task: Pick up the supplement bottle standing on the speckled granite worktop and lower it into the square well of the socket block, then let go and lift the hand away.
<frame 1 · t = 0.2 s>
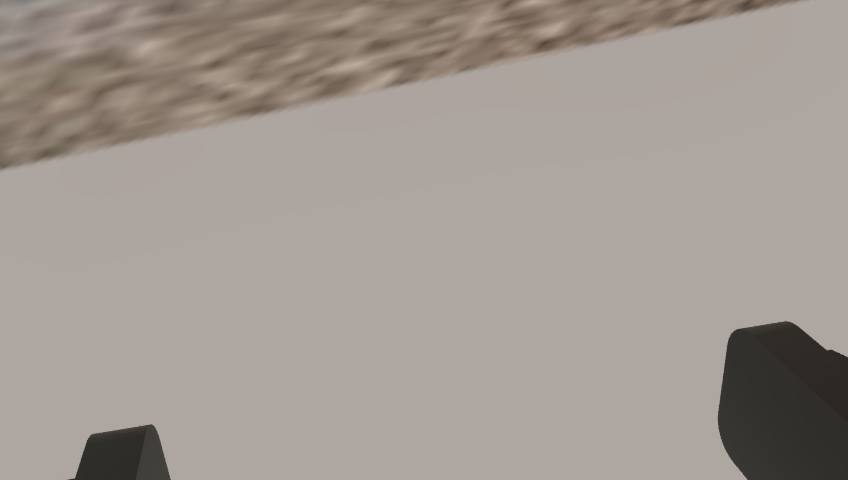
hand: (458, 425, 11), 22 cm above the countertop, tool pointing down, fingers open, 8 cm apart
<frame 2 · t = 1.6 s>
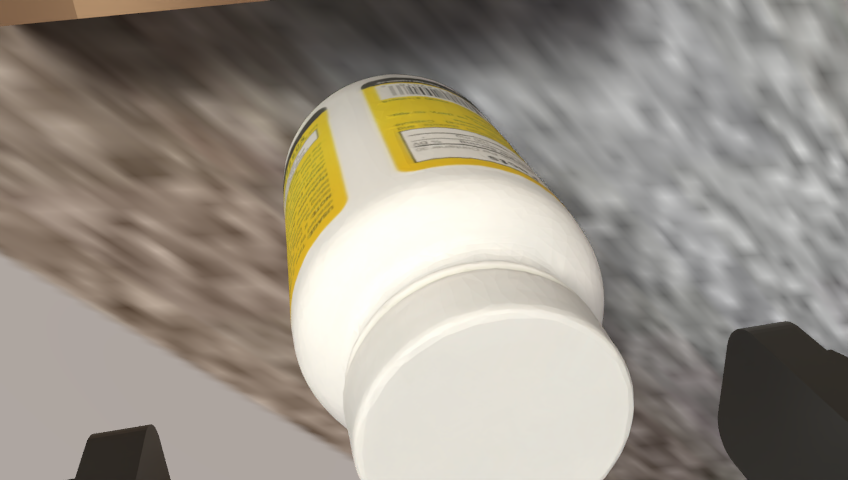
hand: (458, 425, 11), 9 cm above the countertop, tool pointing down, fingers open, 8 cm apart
supplement bottle: (392, 175, 19), on the countertop
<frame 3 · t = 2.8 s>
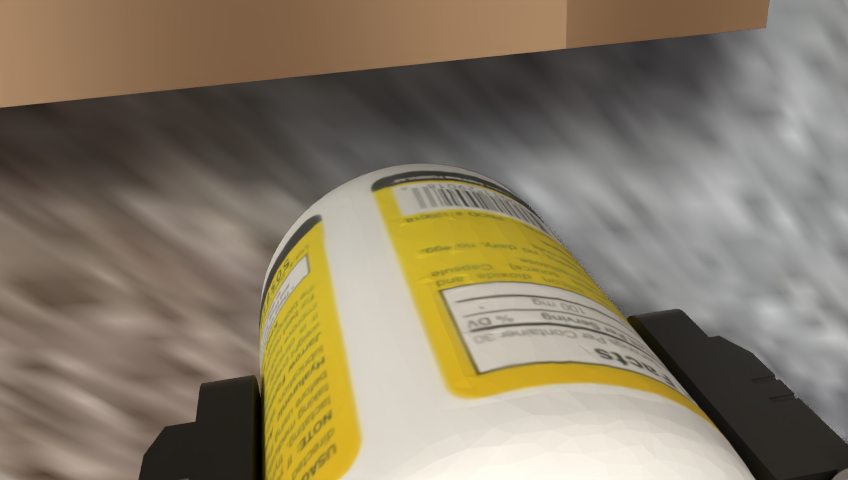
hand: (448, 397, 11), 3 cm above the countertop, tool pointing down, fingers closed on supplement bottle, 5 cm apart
supplement bottle: (411, 291, 14), on the countertop, touching gripper
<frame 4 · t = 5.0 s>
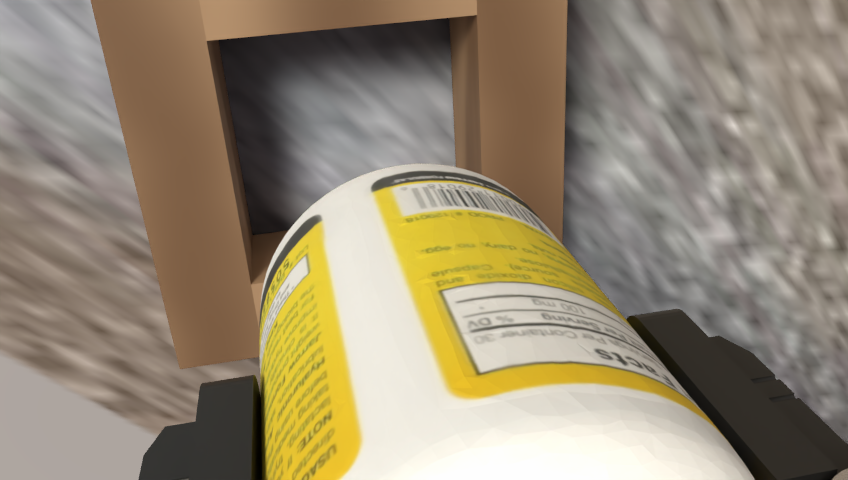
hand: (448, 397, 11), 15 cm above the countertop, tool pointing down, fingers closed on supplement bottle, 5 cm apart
supplement bottle: (411, 291, 14), point 11 cm above the countertop, touching gripper
socket block: (346, 121, 24), on the countertop
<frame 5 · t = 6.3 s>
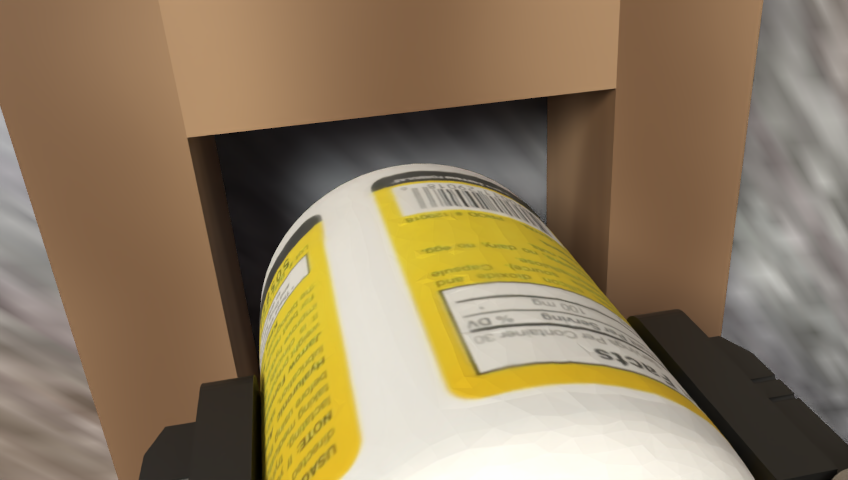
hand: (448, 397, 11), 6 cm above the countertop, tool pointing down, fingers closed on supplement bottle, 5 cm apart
supplement bottle: (410, 291, 14), point 3 cm above the countertop, touching gripper
socket block: (395, 222, 17), on the countertop
when the fingers open (4 cm above the countertop, at t = 7.2 s): supplement bottle drops 1 cm, resting in socket block.
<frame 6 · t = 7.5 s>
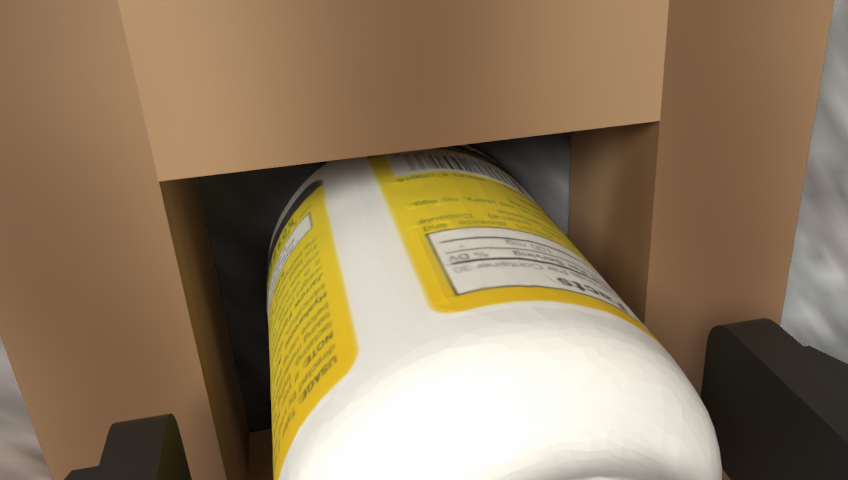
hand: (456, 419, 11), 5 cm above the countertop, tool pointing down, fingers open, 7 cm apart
supplement bottle: (404, 255, 15), resting in socket block
socket block: (399, 262, 15), on the countertop
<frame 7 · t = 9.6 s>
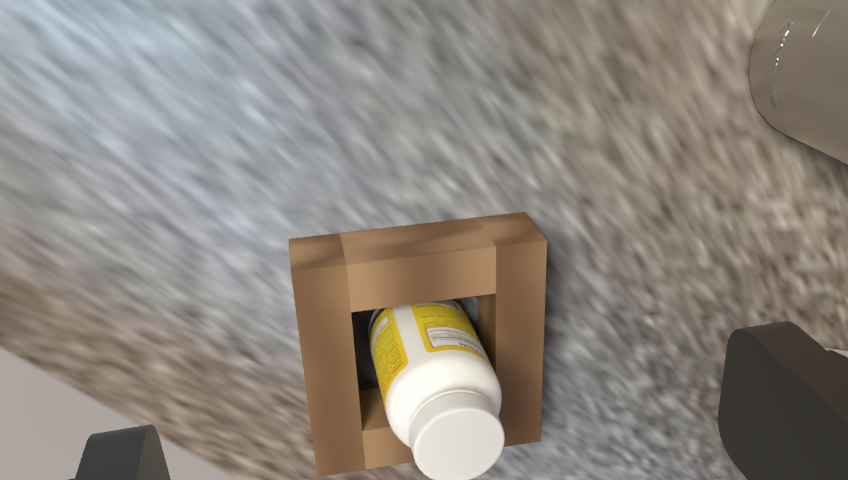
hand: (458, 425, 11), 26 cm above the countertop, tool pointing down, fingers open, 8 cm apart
supplement bottle: (416, 324, 41), resting in socket block
socket block: (414, 327, 41), on the countertop
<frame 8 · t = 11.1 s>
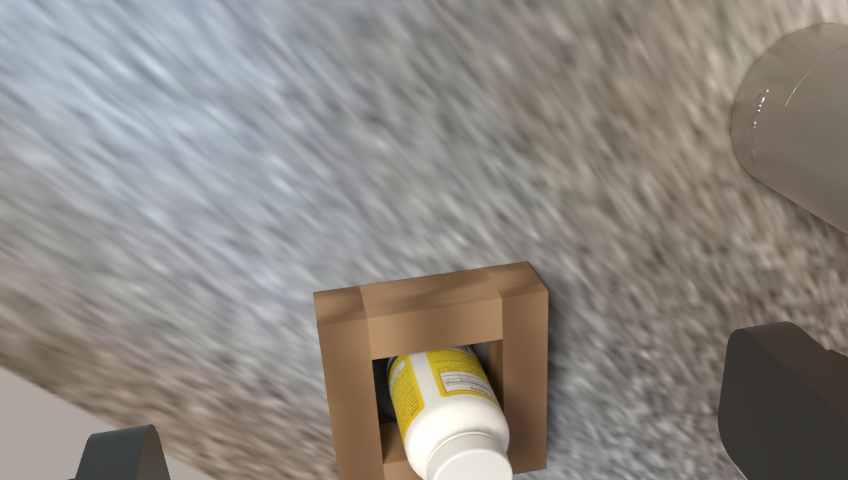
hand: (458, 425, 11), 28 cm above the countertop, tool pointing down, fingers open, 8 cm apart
supplement bottle: (430, 363, 45), resting in socket block
socket block: (428, 366, 44), on the countertop
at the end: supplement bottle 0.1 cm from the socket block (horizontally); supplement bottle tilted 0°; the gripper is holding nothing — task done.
